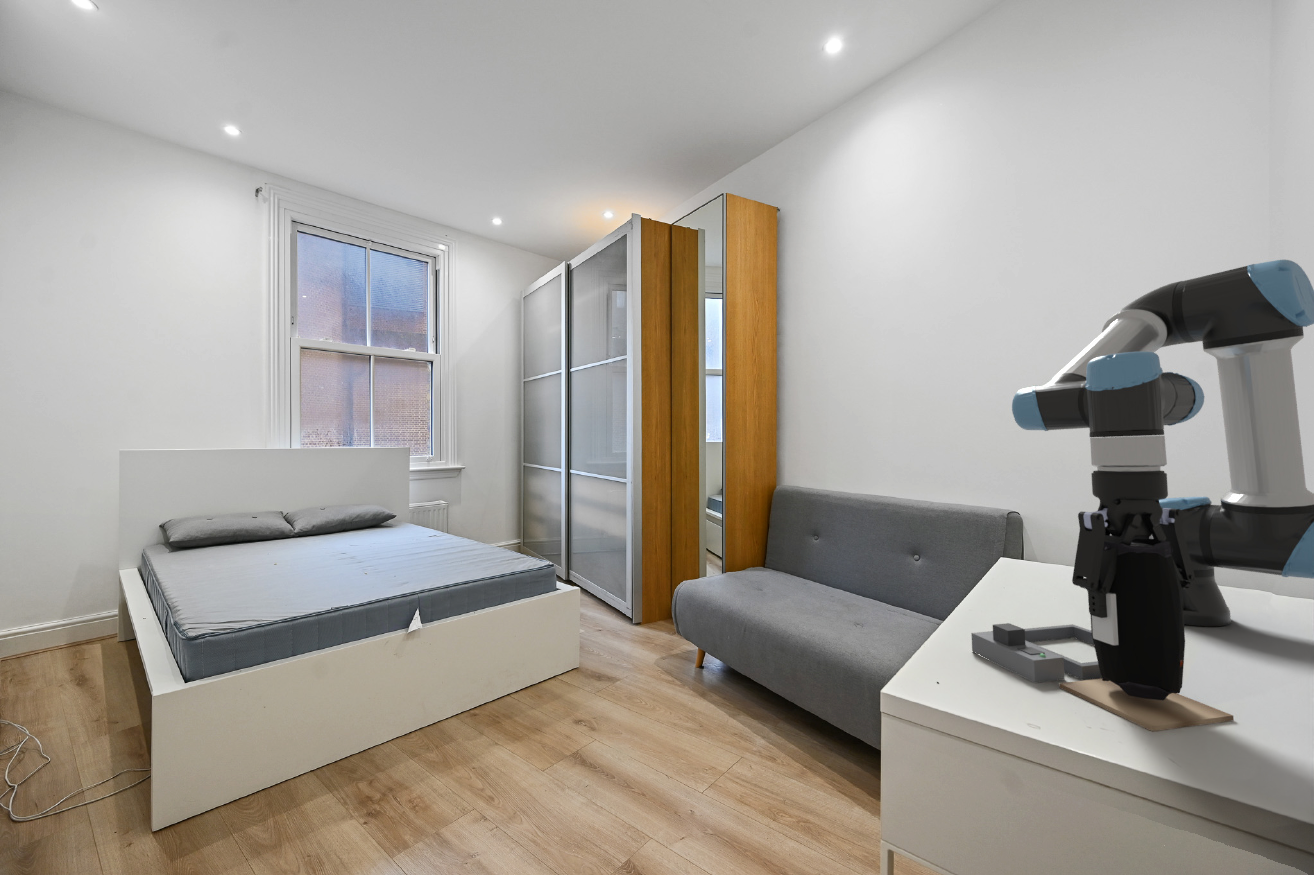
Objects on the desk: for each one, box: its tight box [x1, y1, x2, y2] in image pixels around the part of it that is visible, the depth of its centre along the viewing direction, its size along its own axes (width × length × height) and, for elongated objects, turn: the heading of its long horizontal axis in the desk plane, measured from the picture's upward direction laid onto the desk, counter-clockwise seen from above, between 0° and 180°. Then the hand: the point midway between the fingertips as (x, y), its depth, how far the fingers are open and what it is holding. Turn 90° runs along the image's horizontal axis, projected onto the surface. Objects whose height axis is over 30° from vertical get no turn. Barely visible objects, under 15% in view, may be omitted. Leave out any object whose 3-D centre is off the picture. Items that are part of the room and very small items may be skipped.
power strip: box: [971, 622, 1065, 684], centre depth 82 cm, size 5×12×6 cm, turn 9°
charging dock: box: [1024, 624, 1102, 681], centre depth 85 cm, size 18×16×2 cm
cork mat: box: [1058, 678, 1234, 732], centre depth 69 cm, size 12×12×1 cm
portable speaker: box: [1090, 534, 1186, 700], centre depth 70 cm, size 9×9×20 cm
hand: (1137, 638), depth 69 cm, fingers closed on portable speaker, 9 cm apart
